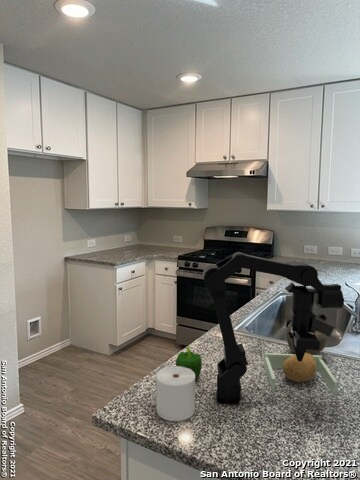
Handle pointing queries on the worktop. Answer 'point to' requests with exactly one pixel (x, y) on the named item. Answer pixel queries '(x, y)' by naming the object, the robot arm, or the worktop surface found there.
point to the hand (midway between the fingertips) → (299, 360)
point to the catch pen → (278, 359)
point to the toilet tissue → (175, 393)
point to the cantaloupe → (323, 341)
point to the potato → (299, 368)
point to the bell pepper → (190, 361)
